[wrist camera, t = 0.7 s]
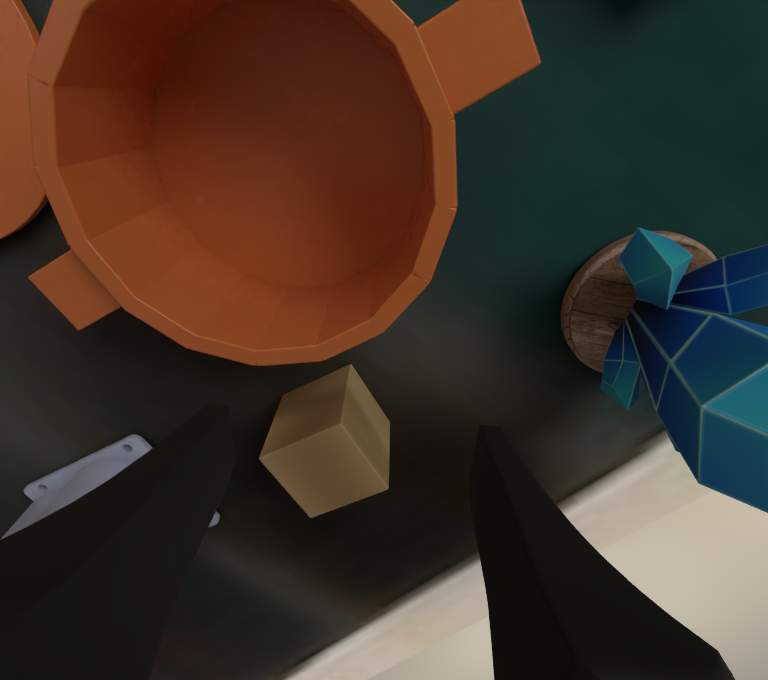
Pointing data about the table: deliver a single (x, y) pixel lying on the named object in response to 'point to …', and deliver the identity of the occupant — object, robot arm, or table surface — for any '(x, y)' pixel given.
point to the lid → (16, 121)
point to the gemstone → (682, 348)
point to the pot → (257, 161)
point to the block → (329, 443)
